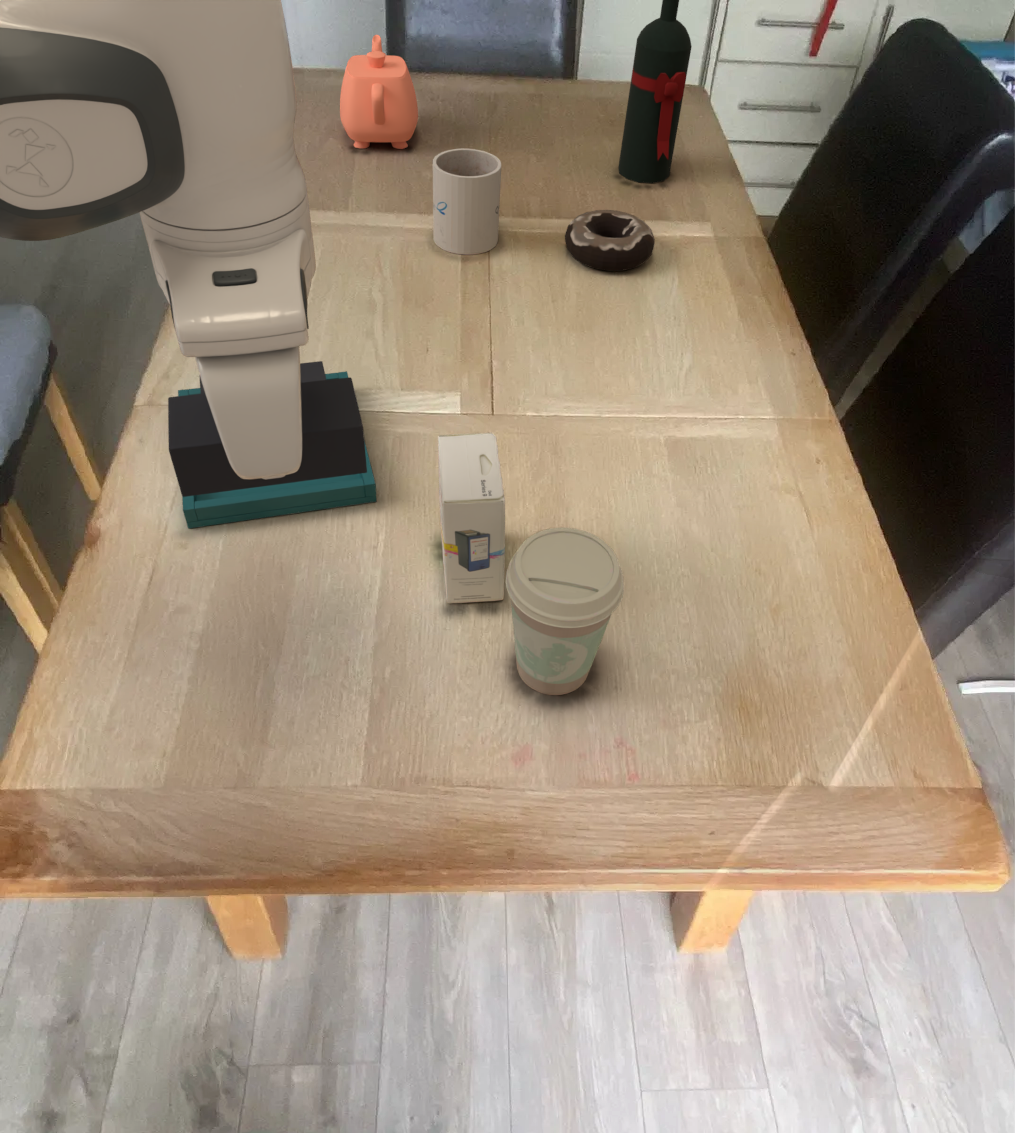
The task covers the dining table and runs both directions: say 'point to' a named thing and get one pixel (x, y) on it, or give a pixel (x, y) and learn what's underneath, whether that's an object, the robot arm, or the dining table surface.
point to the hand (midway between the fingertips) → (269, 438)
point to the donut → (609, 240)
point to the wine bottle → (655, 98)
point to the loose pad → (325, 440)
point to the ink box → (471, 517)
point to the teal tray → (279, 494)
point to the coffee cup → (561, 605)
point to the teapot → (378, 99)
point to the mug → (466, 201)
